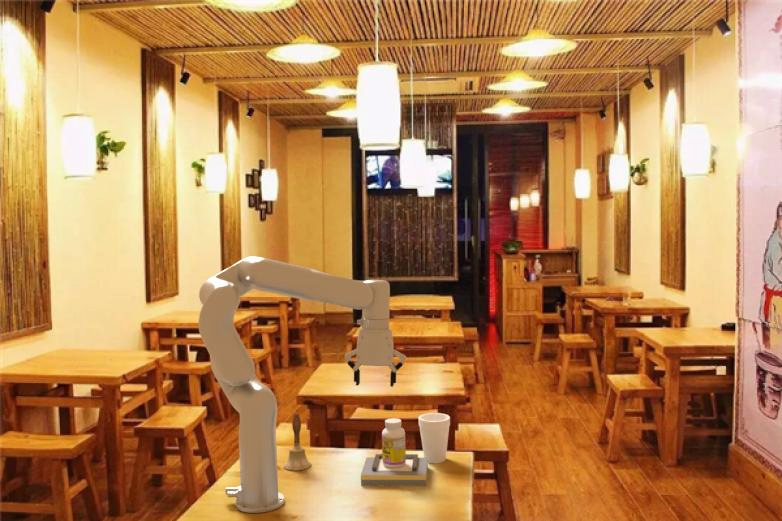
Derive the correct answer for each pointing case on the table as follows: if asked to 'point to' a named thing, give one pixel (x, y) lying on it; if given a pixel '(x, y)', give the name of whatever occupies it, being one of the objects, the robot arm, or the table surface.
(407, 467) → the loading dock
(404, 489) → the table surface
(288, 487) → the table surface
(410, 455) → the bay rails
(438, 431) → the foam cup
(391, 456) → the supplement bottle
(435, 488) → the table surface
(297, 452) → the hand bell
